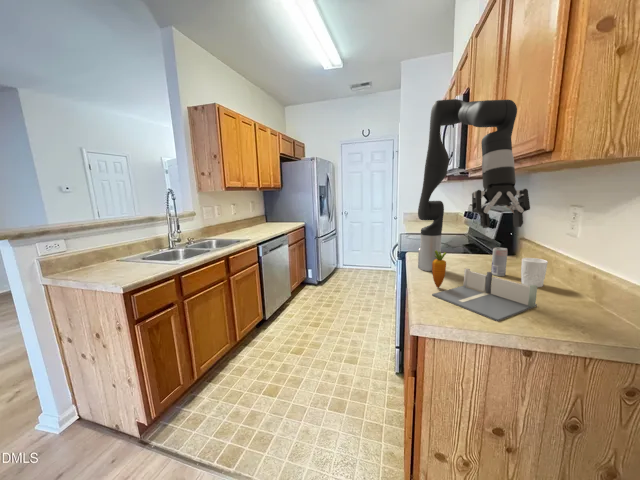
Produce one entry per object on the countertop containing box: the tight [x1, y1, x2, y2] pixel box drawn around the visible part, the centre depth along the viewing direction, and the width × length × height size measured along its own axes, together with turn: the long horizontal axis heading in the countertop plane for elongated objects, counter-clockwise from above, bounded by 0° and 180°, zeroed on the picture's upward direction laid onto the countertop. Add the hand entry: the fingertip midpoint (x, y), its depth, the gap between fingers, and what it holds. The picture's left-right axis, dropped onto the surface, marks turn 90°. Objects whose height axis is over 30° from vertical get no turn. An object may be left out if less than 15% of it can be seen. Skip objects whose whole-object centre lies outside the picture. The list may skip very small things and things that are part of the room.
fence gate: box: [491, 276, 538, 308], centre depth 87 cm, size 13×2×7 cm, turn 26°
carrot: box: [431, 250, 447, 289], centre depth 102 cm, size 5×5×15 cm
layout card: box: [431, 285, 538, 322], centre depth 90 cm, size 23×21×1 cm
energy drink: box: [490, 246, 509, 277], centre depth 117 cm, size 5×5×12 cm
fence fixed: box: [462, 267, 493, 294], centre depth 98 cm, size 10×2×8 cm, turn 26°
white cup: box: [520, 257, 549, 288], centre depth 103 cm, size 8×8×10 cm
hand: (501, 227), depth 72 cm, fingers open, 8 cm apart
